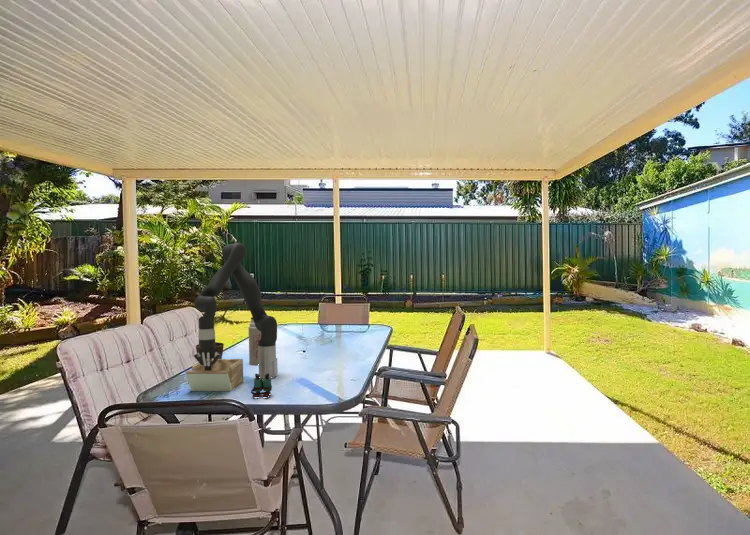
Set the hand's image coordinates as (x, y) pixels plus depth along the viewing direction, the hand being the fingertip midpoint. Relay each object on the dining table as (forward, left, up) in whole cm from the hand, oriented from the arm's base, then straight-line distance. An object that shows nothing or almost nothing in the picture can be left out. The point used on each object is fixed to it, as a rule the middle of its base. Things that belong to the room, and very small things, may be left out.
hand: (208, 373), depth 243 cm
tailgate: (0, -2, -9) cm, 10 cm away
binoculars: (-28, +6, -10) cm, 31 cm away
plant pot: (+15, -38, -10) cm, 42 cm away
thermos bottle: (-4, -60, -10) cm, 61 cm away
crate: (0, -12, -10) cm, 15 cm away
